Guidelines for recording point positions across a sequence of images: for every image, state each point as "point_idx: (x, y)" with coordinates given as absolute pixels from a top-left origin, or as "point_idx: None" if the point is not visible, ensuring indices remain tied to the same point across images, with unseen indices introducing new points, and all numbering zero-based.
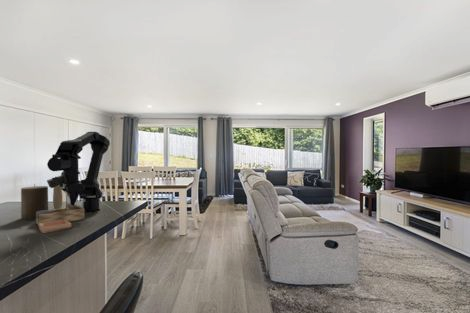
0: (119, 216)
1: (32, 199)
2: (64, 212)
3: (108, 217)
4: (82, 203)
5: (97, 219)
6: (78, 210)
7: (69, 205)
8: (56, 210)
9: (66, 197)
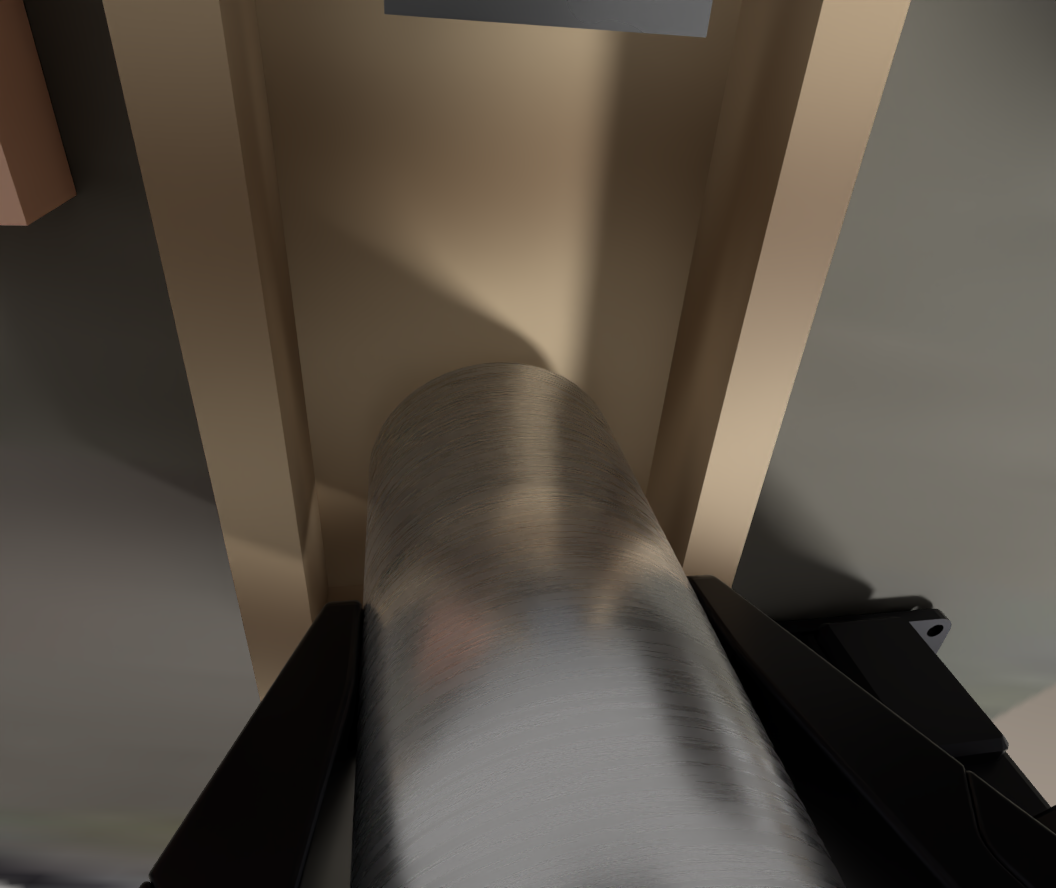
0: (106, 869)
1: None
2: (178, 289)
3: (135, 783)
4: (976, 712)
5: (86, 674)
6: (249, 604)
7: (385, 556)
8: (760, 165)
9: (541, 796)
